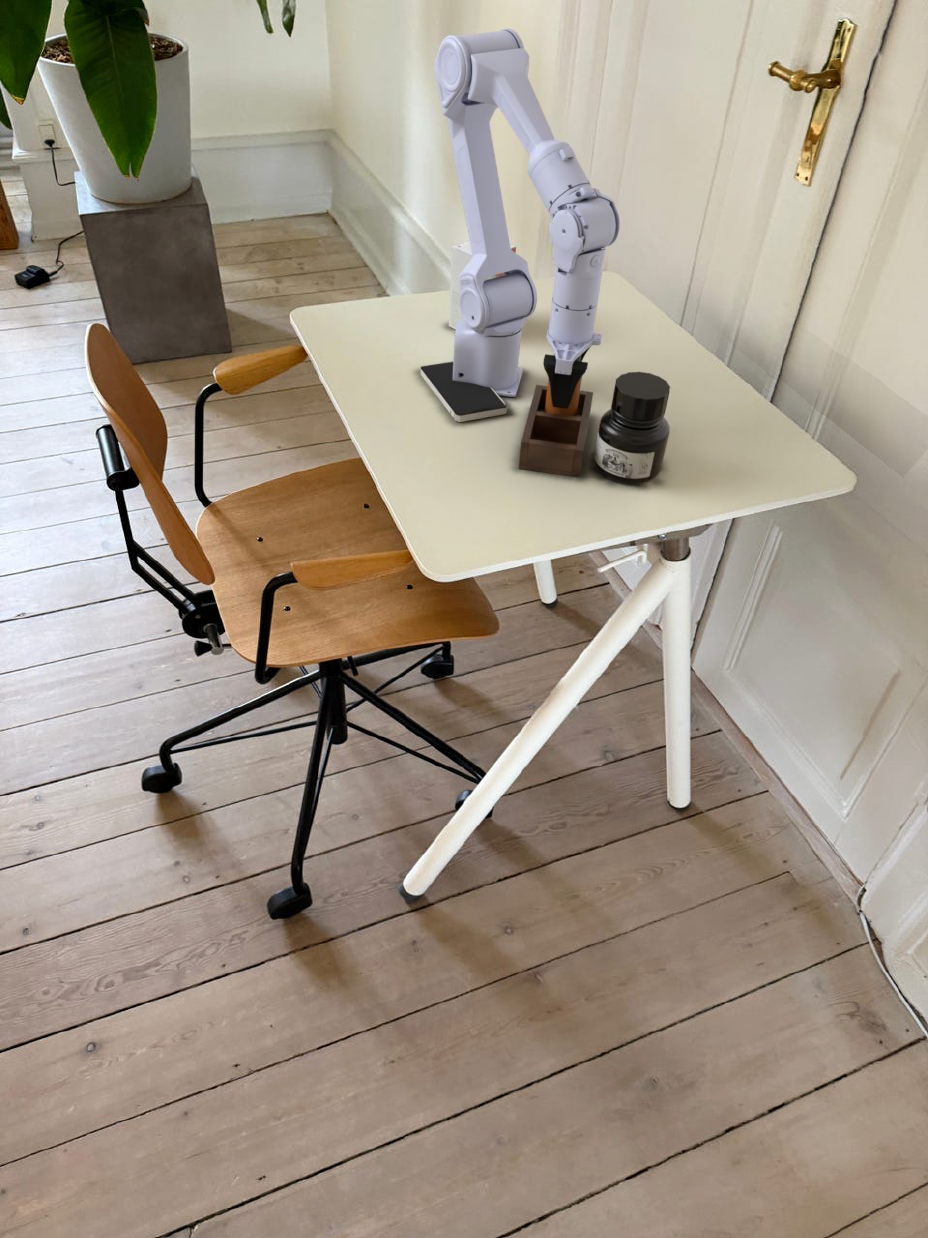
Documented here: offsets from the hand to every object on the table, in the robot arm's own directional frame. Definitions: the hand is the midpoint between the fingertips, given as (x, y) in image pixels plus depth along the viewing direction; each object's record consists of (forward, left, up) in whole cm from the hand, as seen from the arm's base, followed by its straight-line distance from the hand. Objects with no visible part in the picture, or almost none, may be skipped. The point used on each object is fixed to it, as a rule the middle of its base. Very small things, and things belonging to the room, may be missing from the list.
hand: (562, 397), depth 125 cm
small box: (-16, +28, -5) cm, 32 cm away
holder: (0, -3, -5) cm, 6 cm away
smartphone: (-15, +6, -5) cm, 17 cm away
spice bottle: (0, 0, -3) cm, 3 cm away
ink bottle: (+10, -7, -5) cm, 13 cm away
